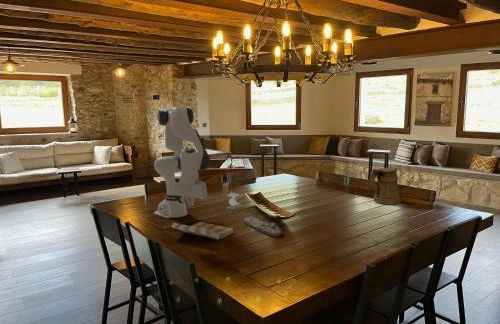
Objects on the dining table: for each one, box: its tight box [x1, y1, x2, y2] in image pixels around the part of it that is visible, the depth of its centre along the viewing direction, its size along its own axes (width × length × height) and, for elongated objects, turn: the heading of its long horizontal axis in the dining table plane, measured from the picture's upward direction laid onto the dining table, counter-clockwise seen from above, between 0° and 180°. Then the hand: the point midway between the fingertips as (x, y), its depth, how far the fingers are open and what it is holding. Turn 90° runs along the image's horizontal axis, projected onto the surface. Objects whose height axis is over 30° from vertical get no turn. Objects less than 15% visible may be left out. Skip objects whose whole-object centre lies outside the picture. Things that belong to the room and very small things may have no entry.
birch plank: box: [171, 222, 220, 241], centre depth 208 cm, size 24×12×2 cm, turn 58°
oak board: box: [190, 221, 234, 240], centre depth 219 cm, size 24×12×3 cm, turn 58°
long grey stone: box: [243, 216, 282, 238], centre depth 225 cm, size 35×5×10 cm
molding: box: [225, 192, 245, 211], centre depth 284 cm, size 42×12×3 cm, turn 2°
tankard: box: [369, 167, 402, 206], centre depth 279 cm, size 18×24×25 cm
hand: (190, 205), depth 203 cm, fingers closed
